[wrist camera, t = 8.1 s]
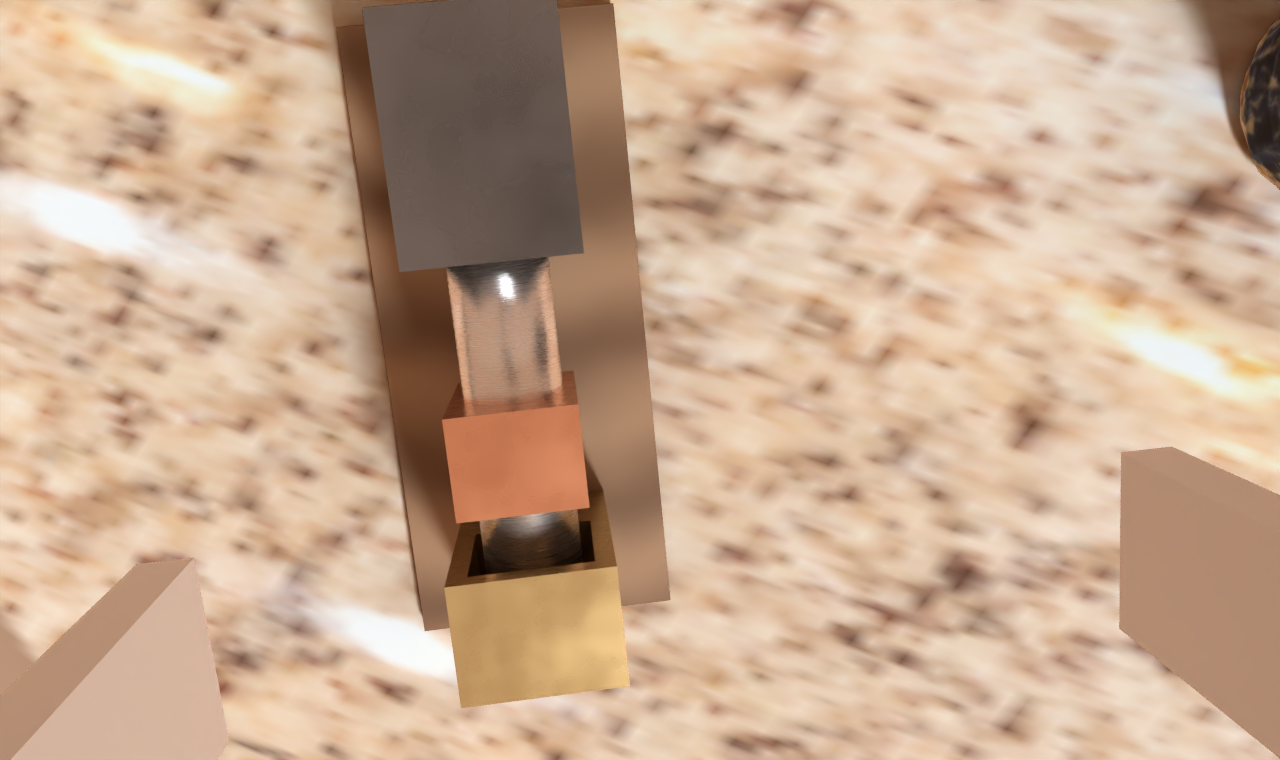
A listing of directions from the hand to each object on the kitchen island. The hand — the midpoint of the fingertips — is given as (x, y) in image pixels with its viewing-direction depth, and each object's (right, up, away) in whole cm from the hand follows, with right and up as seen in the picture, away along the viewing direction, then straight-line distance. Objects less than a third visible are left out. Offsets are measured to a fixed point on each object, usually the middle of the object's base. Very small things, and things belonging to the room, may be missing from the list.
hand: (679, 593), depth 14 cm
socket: (-5, -5, +36) cm, 37 cm away
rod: (-6, +3, +30) cm, 31 cm away
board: (-6, +5, +34) cm, 35 cm away
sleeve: (-7, +14, +32) cm, 36 cm away
